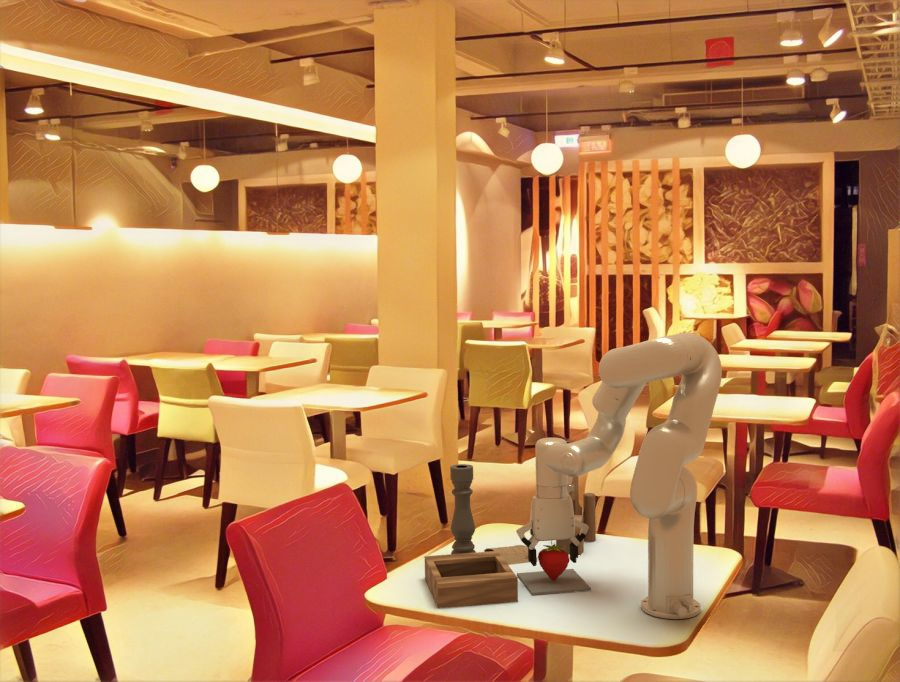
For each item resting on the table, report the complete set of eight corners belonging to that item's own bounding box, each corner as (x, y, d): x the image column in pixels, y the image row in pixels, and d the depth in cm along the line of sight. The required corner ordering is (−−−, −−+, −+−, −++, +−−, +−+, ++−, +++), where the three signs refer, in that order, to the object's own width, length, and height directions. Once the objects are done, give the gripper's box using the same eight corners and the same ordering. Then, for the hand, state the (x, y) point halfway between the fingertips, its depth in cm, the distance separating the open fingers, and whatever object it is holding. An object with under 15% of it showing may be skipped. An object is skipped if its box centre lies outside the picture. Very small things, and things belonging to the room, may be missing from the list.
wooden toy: (581, 556, 245) (580, 460, 243) (555, 553, 248) (554, 458, 246) (597, 539, 259) (596, 448, 257) (573, 537, 262) (572, 446, 260)
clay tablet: (482, 552, 252) (482, 542, 251) (518, 548, 255) (518, 538, 255) (502, 569, 238) (502, 559, 238) (540, 564, 241) (540, 554, 241)
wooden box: (517, 601, 214) (517, 577, 214) (438, 608, 211) (437, 583, 211) (498, 572, 234) (497, 550, 233) (425, 578, 231) (424, 556, 230)
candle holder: (481, 564, 241) (479, 466, 238) (464, 570, 236) (462, 470, 234) (462, 559, 245) (460, 462, 243) (446, 565, 240) (444, 467, 238)
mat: (591, 590, 220) (591, 588, 220) (531, 595, 218) (531, 592, 218) (572, 571, 234) (572, 568, 234) (517, 575, 231) (517, 573, 231)
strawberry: (564, 587, 221) (565, 545, 220) (533, 582, 224) (534, 540, 223) (572, 578, 227) (573, 537, 225) (542, 573, 230) (542, 533, 229)
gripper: (582, 485, 229) (583, 555, 230) (512, 489, 226) (513, 560, 227) (592, 492, 222) (593, 564, 223) (520, 497, 219) (521, 570, 220)
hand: (553, 562), depth 225 cm, fingers open, 9 cm apart
